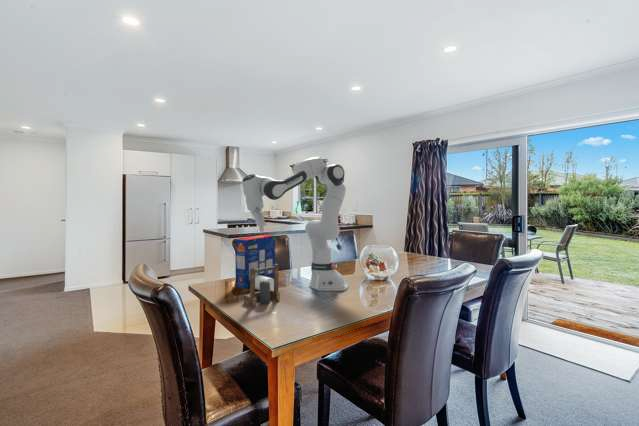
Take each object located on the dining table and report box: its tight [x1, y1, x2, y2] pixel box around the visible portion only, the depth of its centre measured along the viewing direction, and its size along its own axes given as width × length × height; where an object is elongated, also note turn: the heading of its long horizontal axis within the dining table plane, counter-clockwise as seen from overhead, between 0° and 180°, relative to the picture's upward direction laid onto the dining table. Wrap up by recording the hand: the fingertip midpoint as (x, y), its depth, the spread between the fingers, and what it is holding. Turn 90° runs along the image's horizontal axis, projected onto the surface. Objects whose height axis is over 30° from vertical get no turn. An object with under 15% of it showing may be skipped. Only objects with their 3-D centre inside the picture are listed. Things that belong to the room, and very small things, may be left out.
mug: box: [255, 275, 274, 291], centre depth 179 cm, size 12×10×8 cm
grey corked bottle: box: [259, 280, 271, 305], centre depth 157 cm, size 5×5×11 cm
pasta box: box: [234, 234, 276, 290], centre depth 194 cm, size 28×8×28 cm, turn 153°
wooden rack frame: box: [243, 263, 281, 308], centre depth 158 cm, size 8×16×18 cm, turn 136°
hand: (260, 227), depth 176 cm, fingers open, 8 cm apart
